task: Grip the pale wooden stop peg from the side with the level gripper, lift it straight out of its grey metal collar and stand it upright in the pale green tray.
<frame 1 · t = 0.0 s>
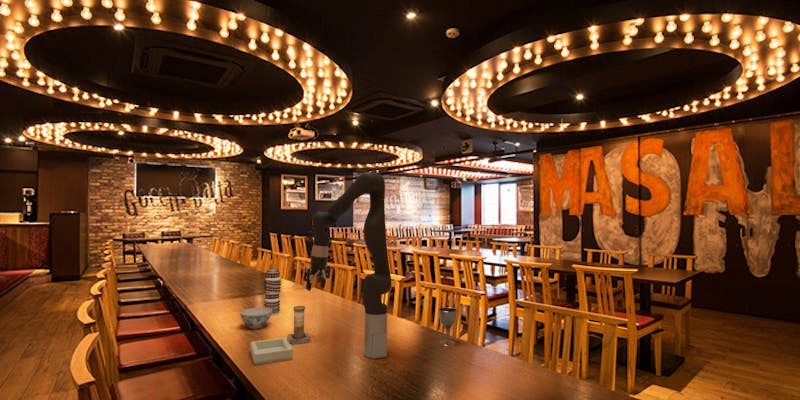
hand: (315, 288, 184), 22 cm above the table, tool pointing down, fingers open, 8 cm apart
wine glass: (447, 343, 178), on the table
stop collar: (298, 340, 179), on the table
decorative candle: (271, 313, 224), on the table
tray: (270, 355, 160), on the table
stop peg: (299, 323, 179), in the stop collar
chinaware: (255, 327, 199), on the table
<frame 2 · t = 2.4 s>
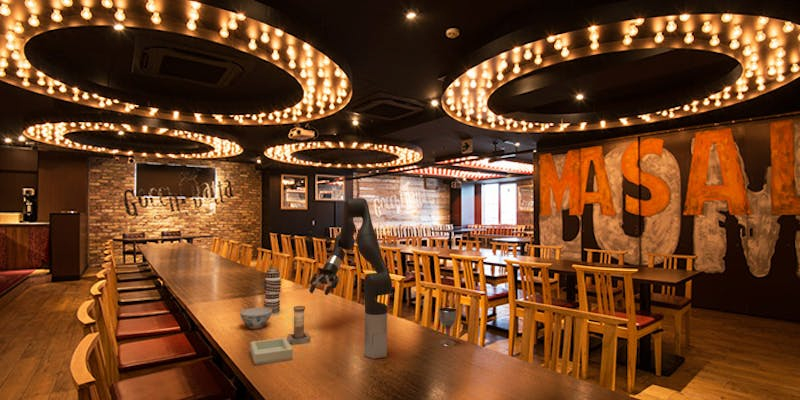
hand: (318, 293, 191), 19 cm above the table, tool tilted 45°, fingers open, 8 cm apart
nothing on the table moved.
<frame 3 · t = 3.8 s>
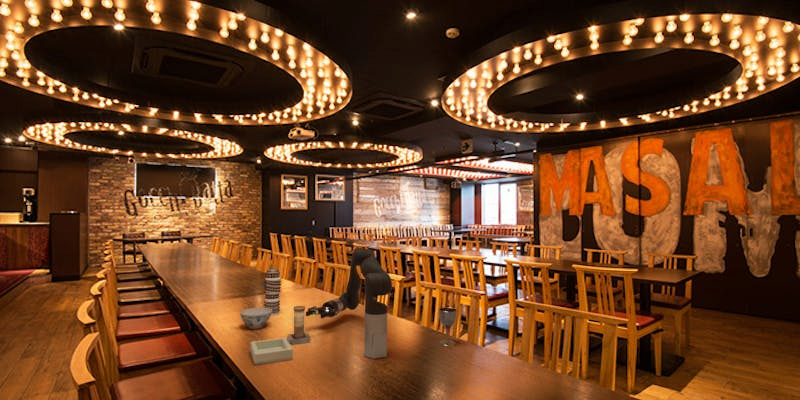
hand: (313, 315, 189), 9 cm above the table, tool horizontal, fingers open, 8 cm apart
nothing on the table moved.
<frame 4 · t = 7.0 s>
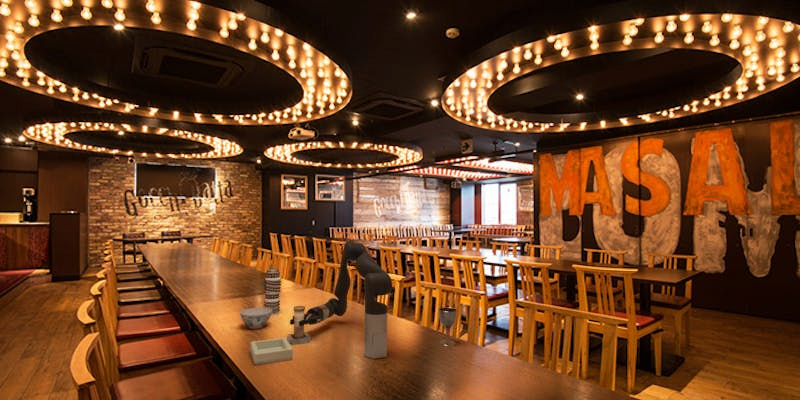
hand: (295, 323, 176), 9 cm above the table, tool horizontal, fingers closed on stop peg, 4 cm apart
stop peg: (299, 323, 179), in the stop collar, touching gripper
everything else where it was.
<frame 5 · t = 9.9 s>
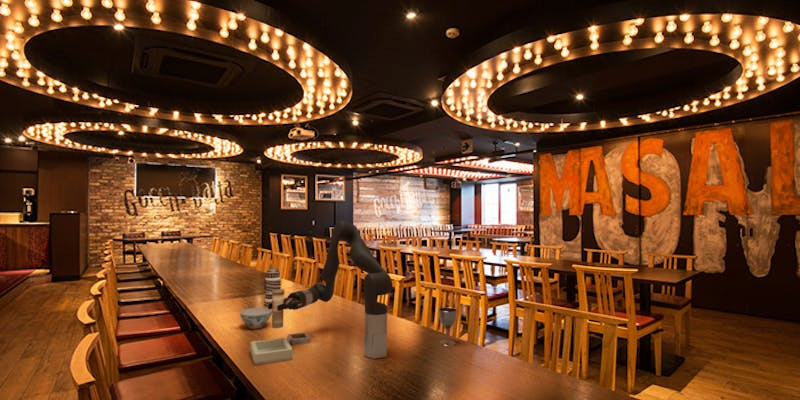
hand: (273, 307, 162), 19 cm above the table, tool horizontal, fingers closed on stop peg, 4 cm apart
stop peg: (277, 308, 164), point 18 cm above the table, touching gripper
everything else where it was.
when the fingers open (11 cm above the table, at t = 12.6 s): stop peg drops 1 cm, resting on tray.
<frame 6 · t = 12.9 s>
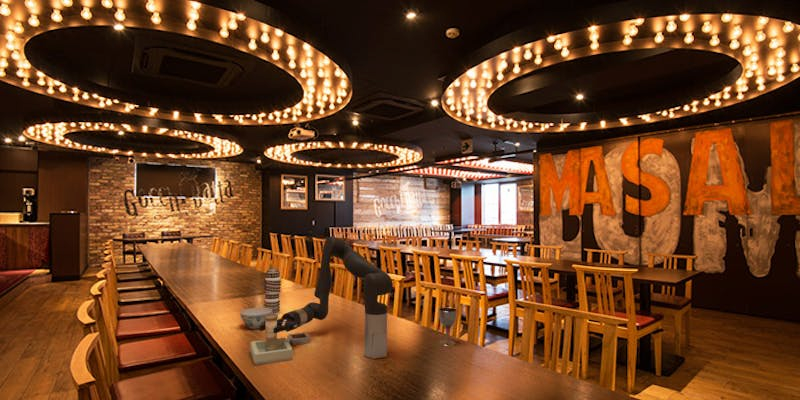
hand: (267, 329, 158), 11 cm above the table, tool horizontal, fingers open, 6 cm apart
stop peg: (271, 334, 160), in the tray, point 9 cm above the table
everything else where it was.
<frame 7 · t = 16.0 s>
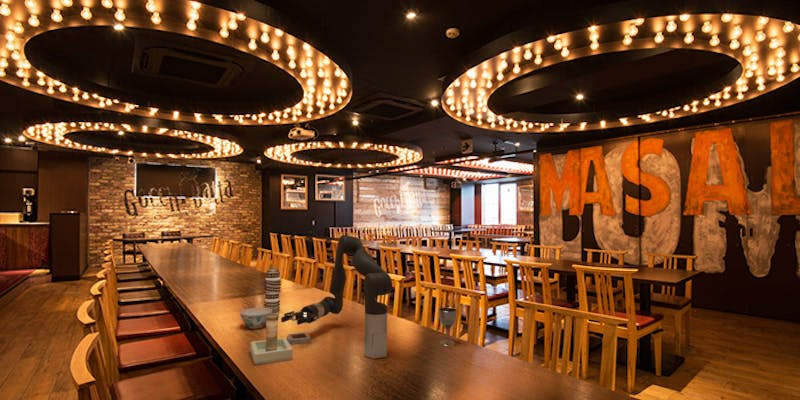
hand: (289, 321, 170), 11 cm above the table, tool horizontal, fingers open, 8 cm apart
nothing on the table moved.
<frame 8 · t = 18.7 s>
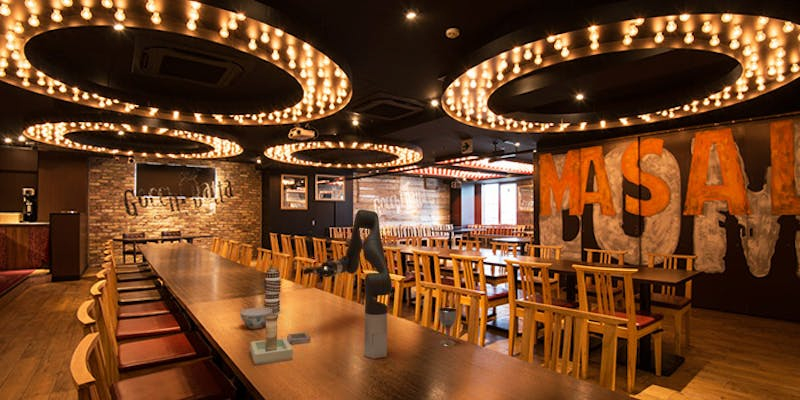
hand: (311, 272, 183), 30 cm above the table, tool horizontal, fingers open, 8 cm apart
nothing on the table moved.
at the end: stop peg inside the target area on the tray (0.1 cm from its centre), point 8.6 cm above the tray's base; stop peg tilted 2°; the gripper is holding nothing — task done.
